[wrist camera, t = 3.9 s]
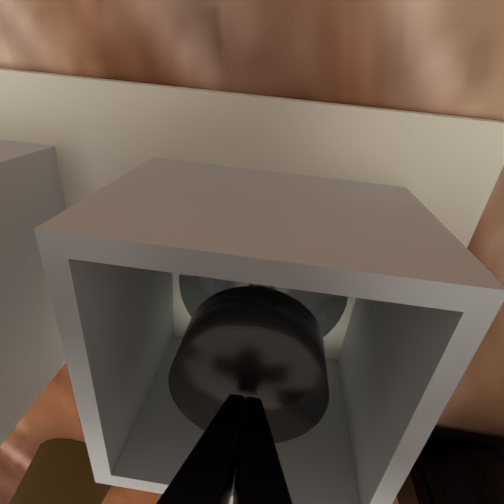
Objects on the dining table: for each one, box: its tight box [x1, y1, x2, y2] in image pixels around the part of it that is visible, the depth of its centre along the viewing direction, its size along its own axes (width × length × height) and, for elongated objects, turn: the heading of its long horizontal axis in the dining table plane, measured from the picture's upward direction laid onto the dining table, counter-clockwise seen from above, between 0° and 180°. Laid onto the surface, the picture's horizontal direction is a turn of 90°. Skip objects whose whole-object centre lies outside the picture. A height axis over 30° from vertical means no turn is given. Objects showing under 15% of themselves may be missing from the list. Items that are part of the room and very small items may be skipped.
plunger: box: [168, 274, 348, 443], centre depth 12 cm, size 7×7×6 cm
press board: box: [0, 68, 504, 504], centre depth 12 cm, size 28×14×8 cm, turn 85°
